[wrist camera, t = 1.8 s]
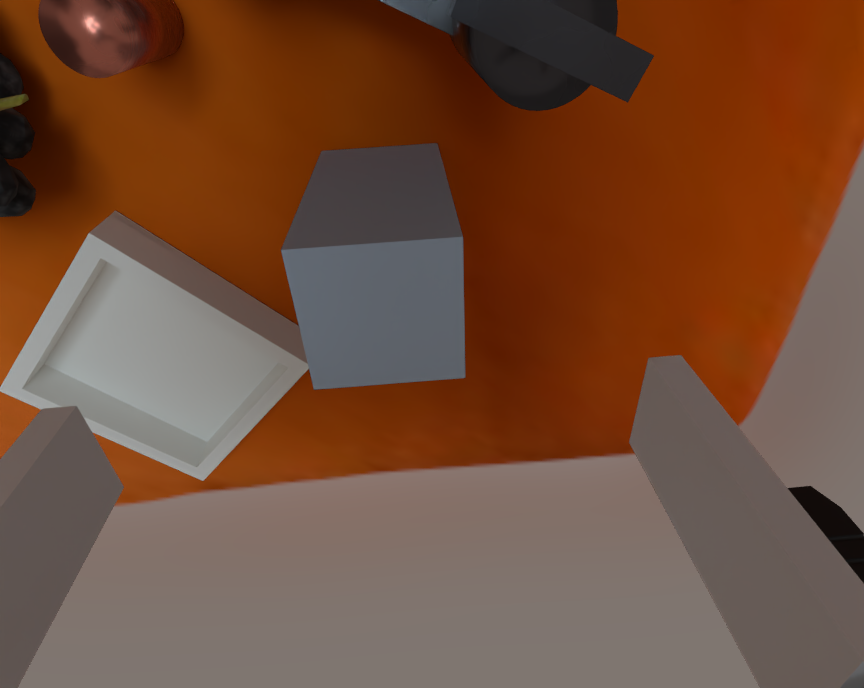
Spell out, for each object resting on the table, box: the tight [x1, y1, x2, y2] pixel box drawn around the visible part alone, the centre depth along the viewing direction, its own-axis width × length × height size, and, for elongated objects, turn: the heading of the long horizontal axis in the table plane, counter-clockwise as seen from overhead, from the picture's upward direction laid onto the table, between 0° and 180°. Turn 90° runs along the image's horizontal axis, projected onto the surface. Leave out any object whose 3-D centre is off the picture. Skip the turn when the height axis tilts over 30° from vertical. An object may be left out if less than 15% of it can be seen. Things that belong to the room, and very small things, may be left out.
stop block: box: [281, 143, 465, 390], centre depth 20 cm, size 5×5×10 cm
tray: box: [0, 211, 309, 481], centre depth 27 cm, size 11×11×2 cm
